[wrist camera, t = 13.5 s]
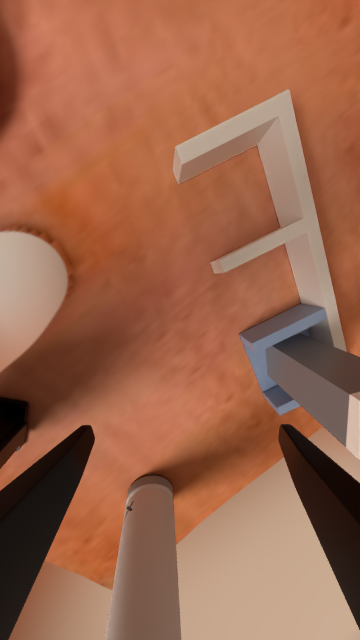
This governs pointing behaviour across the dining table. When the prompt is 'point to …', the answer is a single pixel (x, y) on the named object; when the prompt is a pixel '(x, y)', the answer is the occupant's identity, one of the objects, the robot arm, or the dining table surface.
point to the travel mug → (146, 567)
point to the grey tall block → (320, 384)
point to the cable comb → (295, 230)
